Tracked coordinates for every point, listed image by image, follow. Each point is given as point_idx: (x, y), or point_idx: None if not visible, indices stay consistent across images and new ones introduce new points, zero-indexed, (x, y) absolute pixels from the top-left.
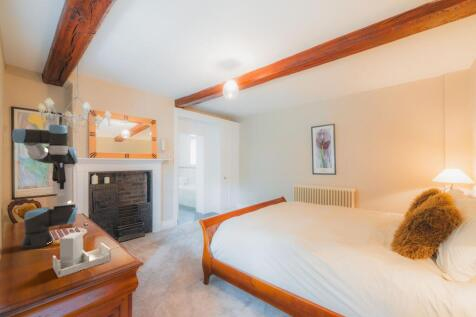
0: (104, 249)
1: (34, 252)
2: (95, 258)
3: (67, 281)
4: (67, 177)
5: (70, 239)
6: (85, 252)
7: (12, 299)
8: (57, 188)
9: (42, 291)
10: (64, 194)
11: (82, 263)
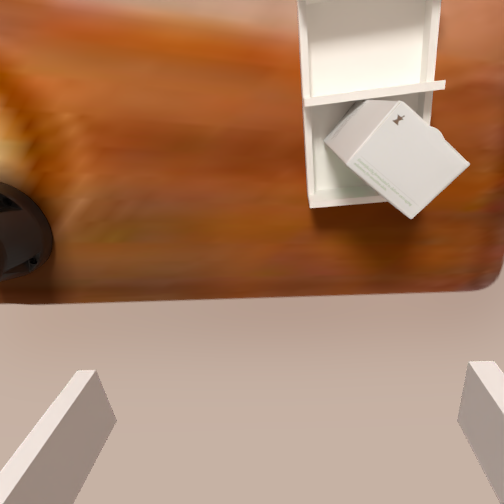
0: None
1: (94, 237)
2: (369, 45)
3: (472, 162)
4: None
5: (456, 174)
6: (385, 90)
7: (447, 279)
8: (63, 449)
9: (472, 224)
10: (501, 378)
11: (430, 109)
